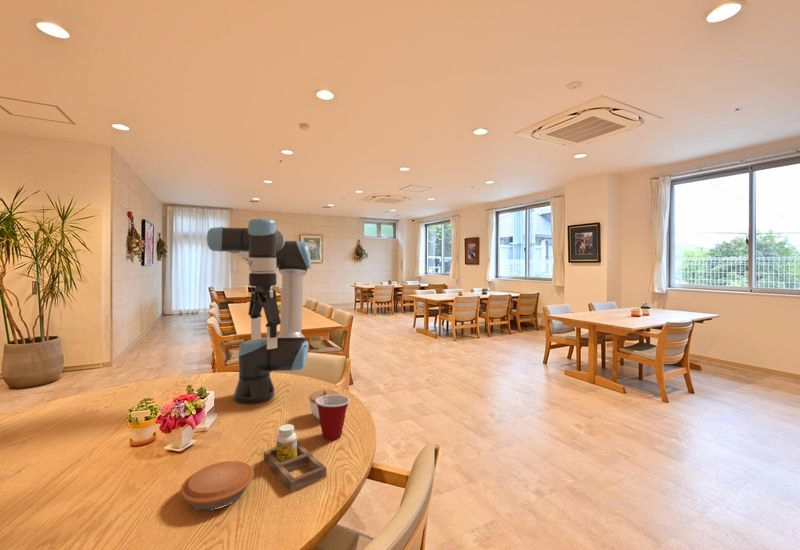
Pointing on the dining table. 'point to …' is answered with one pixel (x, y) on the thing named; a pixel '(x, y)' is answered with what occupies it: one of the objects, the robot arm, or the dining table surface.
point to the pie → (217, 484)
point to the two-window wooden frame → (293, 464)
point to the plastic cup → (332, 415)
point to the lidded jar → (316, 395)
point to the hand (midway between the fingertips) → (263, 343)
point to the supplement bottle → (286, 443)
